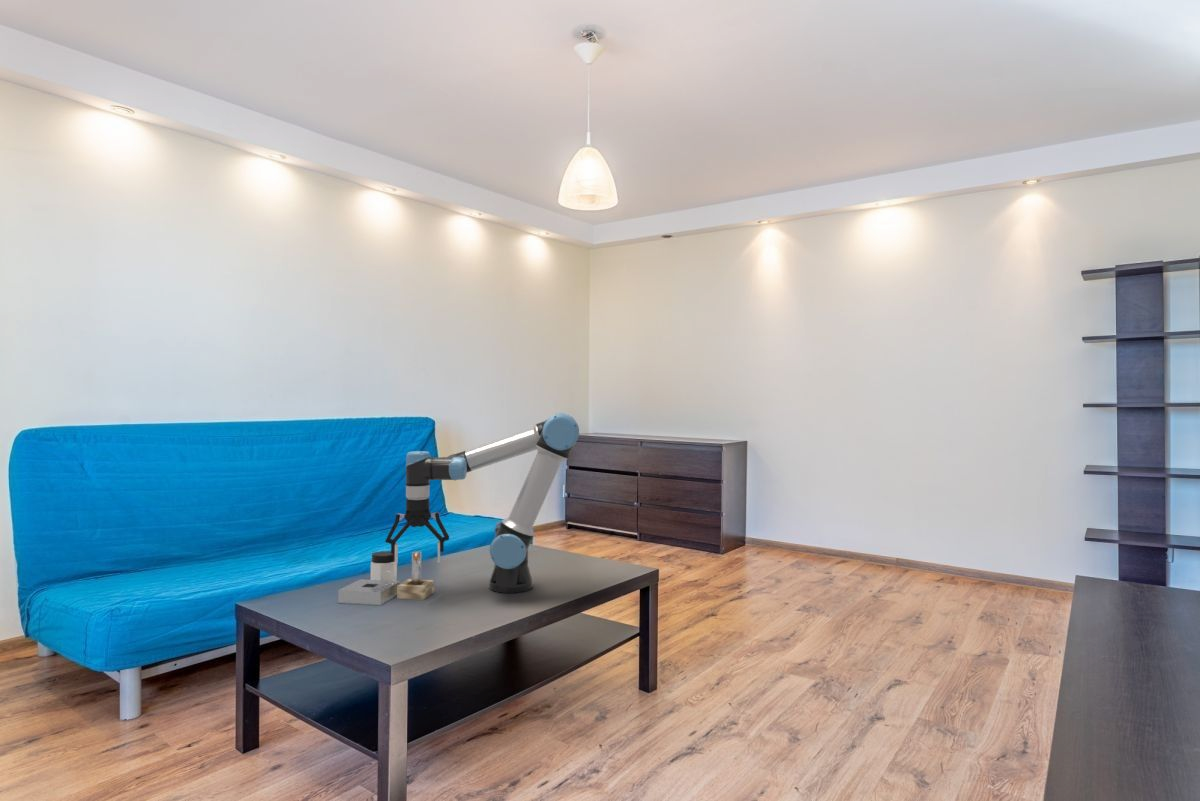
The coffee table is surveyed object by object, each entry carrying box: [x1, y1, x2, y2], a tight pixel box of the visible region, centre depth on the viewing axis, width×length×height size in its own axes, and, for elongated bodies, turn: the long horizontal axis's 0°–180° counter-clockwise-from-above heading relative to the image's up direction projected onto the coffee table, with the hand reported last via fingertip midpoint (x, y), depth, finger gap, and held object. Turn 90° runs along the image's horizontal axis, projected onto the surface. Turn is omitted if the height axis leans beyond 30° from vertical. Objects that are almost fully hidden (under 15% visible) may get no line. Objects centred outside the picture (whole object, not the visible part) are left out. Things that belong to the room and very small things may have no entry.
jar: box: [369, 550, 398, 581], centre depth 233 cm, size 9×8×12 cm
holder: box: [396, 578, 435, 601], centre depth 221 cm, size 9×9×5 cm
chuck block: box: [337, 578, 401, 606], centre depth 217 cm, size 14×14×5 cm
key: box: [411, 550, 422, 585], centre depth 221 cm, size 7×3×14 cm, turn 12°
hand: (417, 563), depth 222 cm, fingers open, 13 cm apart
